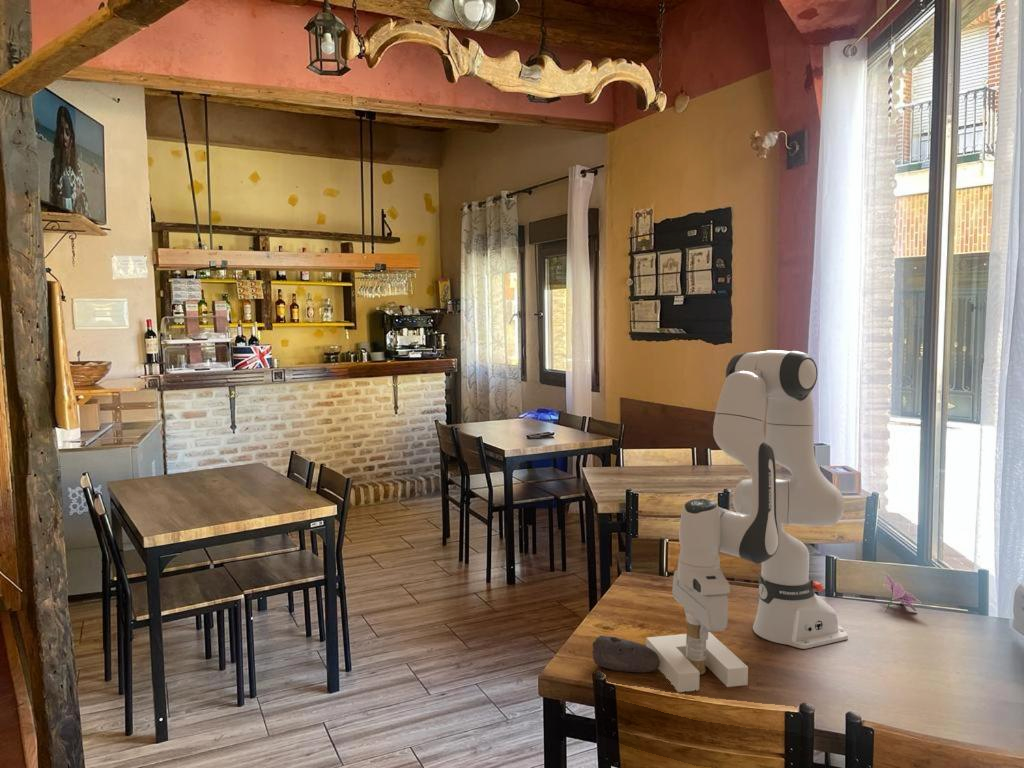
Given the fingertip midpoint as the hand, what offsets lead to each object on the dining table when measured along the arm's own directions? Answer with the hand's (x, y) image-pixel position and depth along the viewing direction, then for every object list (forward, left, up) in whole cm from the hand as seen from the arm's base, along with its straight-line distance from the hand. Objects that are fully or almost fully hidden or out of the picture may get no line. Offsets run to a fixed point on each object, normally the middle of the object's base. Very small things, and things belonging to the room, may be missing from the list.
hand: (697, 633), depth 161 cm
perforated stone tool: (+15, -4, -9) cm, 18 cm away
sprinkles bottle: (0, 0, -9) cm, 9 cm away
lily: (-69, -21, -9) cm, 73 cm away
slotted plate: (0, -1, -9) cm, 9 cm away
